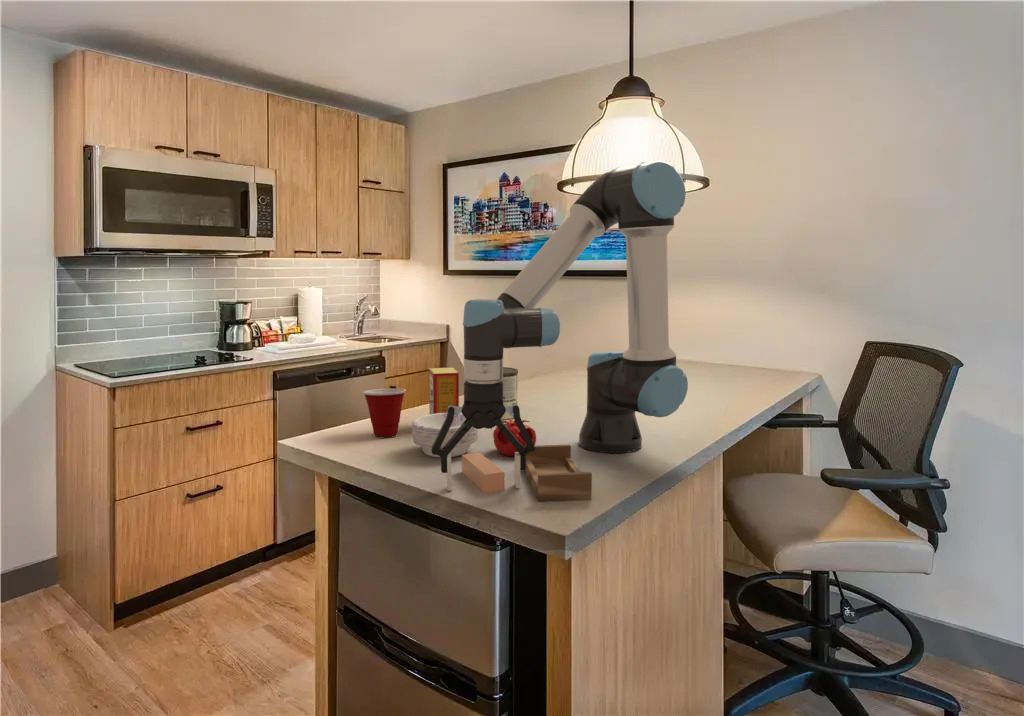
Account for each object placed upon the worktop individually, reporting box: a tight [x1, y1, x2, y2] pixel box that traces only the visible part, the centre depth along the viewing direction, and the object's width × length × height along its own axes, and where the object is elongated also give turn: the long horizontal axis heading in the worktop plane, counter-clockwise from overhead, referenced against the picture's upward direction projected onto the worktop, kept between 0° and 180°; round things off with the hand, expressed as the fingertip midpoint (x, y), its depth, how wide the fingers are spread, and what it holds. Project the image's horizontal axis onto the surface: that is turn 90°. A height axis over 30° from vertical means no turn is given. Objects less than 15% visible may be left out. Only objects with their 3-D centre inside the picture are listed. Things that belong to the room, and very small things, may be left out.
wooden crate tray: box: [524, 444, 593, 503], centre depth 130 cm, size 20×10×5 cm, turn 7°
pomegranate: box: [492, 418, 537, 457], centre depth 151 cm, size 10×10×9 cm
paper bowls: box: [411, 413, 479, 458], centre depth 151 cm, size 15×15×8 cm
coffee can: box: [500, 366, 519, 424], centre depth 184 cm, size 10×10×14 cm
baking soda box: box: [428, 367, 460, 415], centre depth 173 cm, size 10×6×16 cm
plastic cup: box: [362, 388, 407, 438], centre depth 165 cm, size 11×11×12 cm
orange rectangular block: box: [461, 452, 505, 494], centre depth 131 cm, size 14×4×4 cm, turn 23°
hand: (483, 487), depth 127 cm, fingers open, 13 cm apart
